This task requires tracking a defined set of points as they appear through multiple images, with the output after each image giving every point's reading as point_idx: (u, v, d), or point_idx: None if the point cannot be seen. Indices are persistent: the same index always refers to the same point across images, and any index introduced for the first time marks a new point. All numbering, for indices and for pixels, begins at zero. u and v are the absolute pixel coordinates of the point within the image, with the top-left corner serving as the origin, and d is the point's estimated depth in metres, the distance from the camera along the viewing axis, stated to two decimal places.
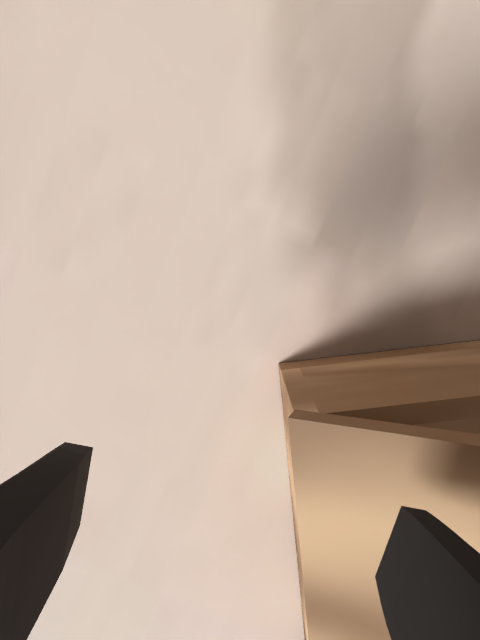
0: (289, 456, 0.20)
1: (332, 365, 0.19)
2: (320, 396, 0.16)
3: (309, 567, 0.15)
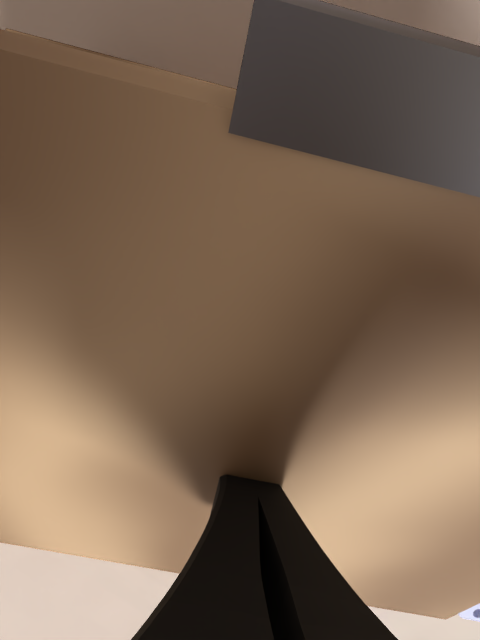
0: None
1: None
2: None
3: (124, 560, 0.14)
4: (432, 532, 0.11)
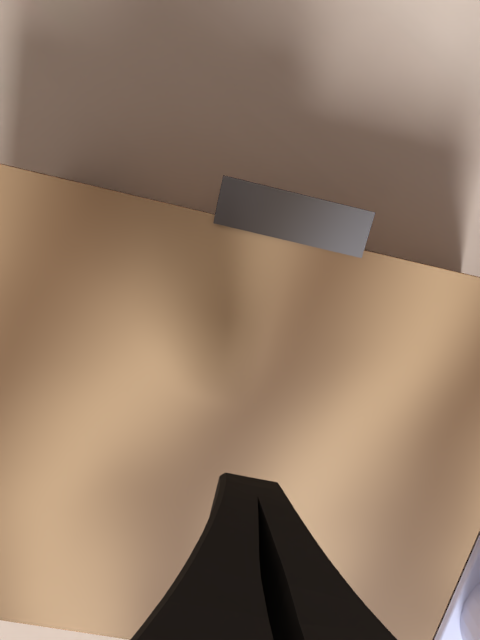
0: None
1: None
2: None
3: (108, 629, 0.15)
4: (364, 525, 0.14)
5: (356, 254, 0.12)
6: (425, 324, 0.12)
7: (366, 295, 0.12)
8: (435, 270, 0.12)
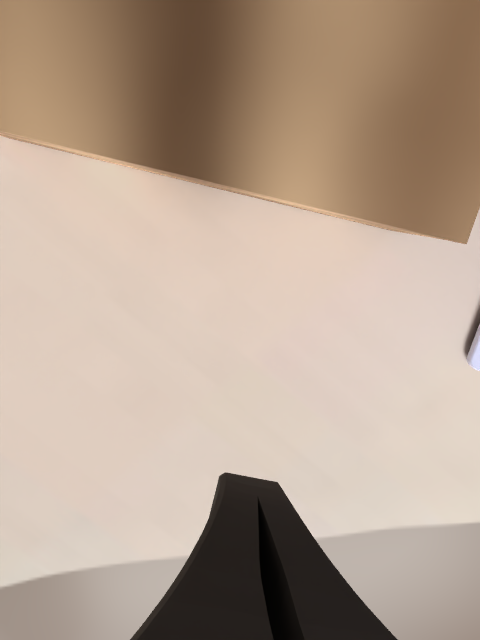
0: (98, 158, 0.17)
1: None
2: None
3: (106, 145, 0.12)
4: None
5: None
6: None
7: None
8: None
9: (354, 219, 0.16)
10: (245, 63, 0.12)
